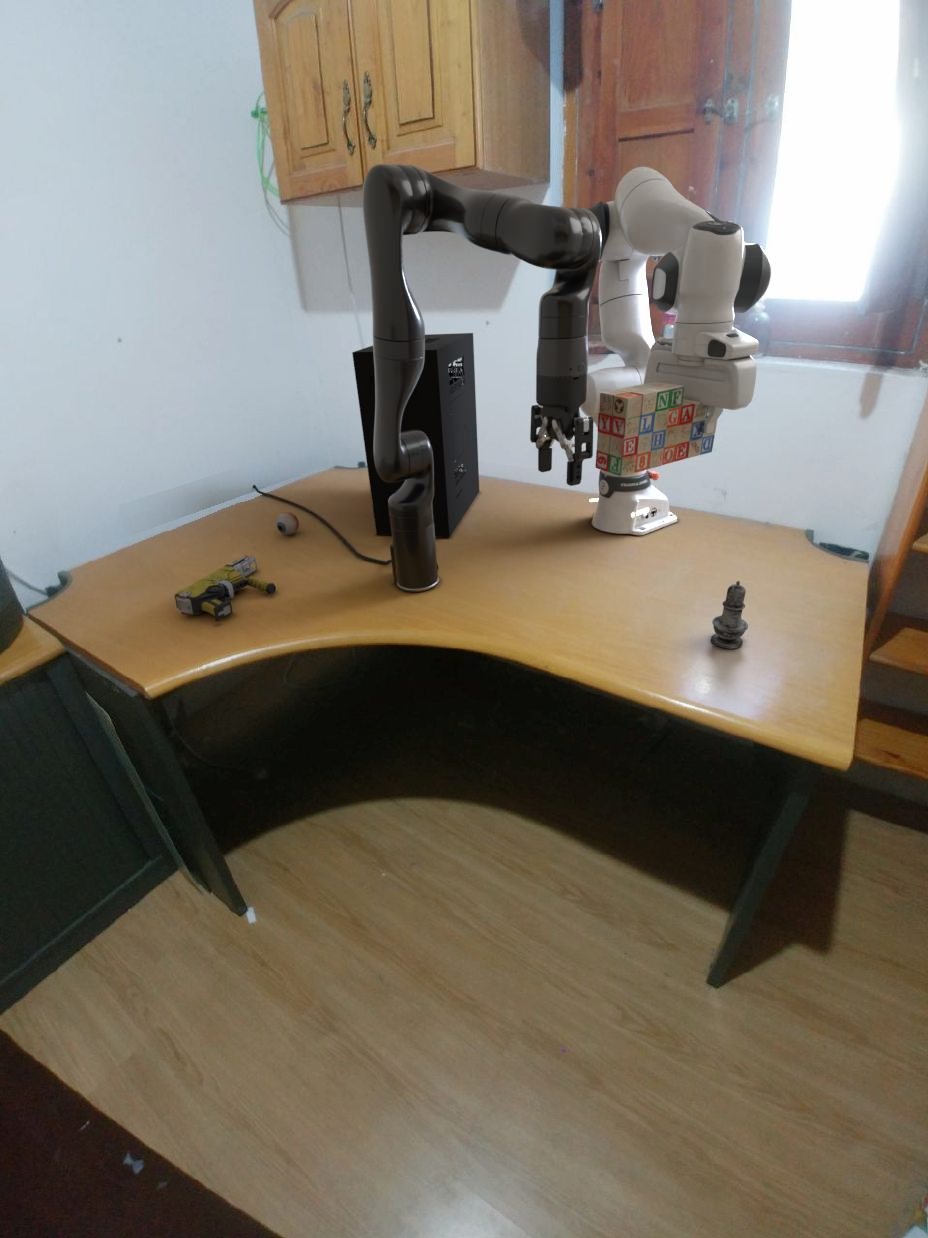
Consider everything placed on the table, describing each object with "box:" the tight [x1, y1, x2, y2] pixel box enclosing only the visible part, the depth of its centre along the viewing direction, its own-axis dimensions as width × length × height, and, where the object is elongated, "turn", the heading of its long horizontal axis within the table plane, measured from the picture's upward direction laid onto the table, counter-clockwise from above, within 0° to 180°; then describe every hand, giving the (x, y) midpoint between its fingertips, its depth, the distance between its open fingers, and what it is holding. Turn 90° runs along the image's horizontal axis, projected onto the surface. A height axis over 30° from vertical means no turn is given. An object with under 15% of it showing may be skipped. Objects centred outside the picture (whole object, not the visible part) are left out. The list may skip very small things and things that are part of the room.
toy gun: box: [173, 554, 277, 622], centre depth 133 cm, size 5×24×15 cm
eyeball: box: [275, 511, 300, 536], centre depth 163 cm, size 6×6×6 cm
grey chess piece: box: [710, 580, 749, 650], centre depth 105 cm, size 6×6×12 cm
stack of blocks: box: [595, 382, 718, 476], centre depth 100 cm, size 21×6×12 cm, turn 120°
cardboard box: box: [351, 332, 480, 539], centre depth 164 cm, size 38×20×45 cm, turn 167°
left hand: (558, 477), depth 97 cm, fingers open, 8 cm apart
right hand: (688, 428), depth 104 cm, fingers closed on stack of blocks, 6 cm apart
